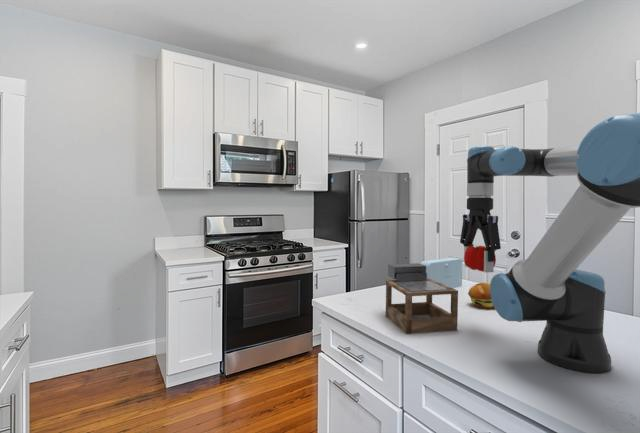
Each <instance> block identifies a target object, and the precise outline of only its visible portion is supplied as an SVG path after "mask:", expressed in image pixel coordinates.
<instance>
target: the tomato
mask: <svg viewBox="0 0 640 433" xmlns="http://www.w3.org/2000/svg"><path fill="white" fill-rule="evenodd" d="M484 249H486V246H485V245H484V246H483V245H474V246H469V247H468V248H467V249H466V252H465V254H463V255H464V256H463V260H464V266H465V265H466V266H467V267H466V268H469V269H470V270H472V271H478V272H483V273H484V251H485V250H484ZM496 256H497V255H495V260H494V267H495V265H496V261H497V258H496Z"/></svg>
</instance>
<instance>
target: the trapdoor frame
mask: <svg viewBox="0 0 640 433" xmlns="http://www.w3.org/2000/svg"><path fill="white" fill-rule="evenodd" d="M412 281H431V282H434V283H436V284H438V285H440V286H443V287H445V288H447V289H449V290H434V291H414V292H410V291H408V290H406V289H404V288H403V287H401V286H399V285H397V284H396V283H395V282H409V281H396V279H393V280H391V279H390V280H388V279H387V280H386V281H385V317H387V318H388V319H389V320H390V321H392V322H393V324H395V325H396V326H397V327H398V328H399V329H401V331H403V332H404V333H406V334H410V335H411V334H422V333H423V334H424V333H433V332H434V333H435V332H436V333H437V332H446V331H448V332H449V331H458V322H459V321H458V316H459V315H458V314H459V312H458V311H459V310H458V309H459V308H458V306H459V290H458V289H455V288H451V287H449V286H446V285H444V284H442V283H439V282H437V281H435V280H432V279H427V280H412ZM392 289H394V290H396V291H398V292H400V293H402V294H403V295H404V297H405V302H400V303H392V301H393V299H392V298H393V297H392V293H393V292H392V291H393V290H392ZM442 295H443V296H444V295H450V312H449V311H447V310H445V309H444V308H442V307H441V306H438V305H437V304H435V303H433V296H442ZM421 296H422V297H423V296H424V297H426V298H425V301H423V302H422V301H421V302H413V297H421ZM422 315H428V316H429V317H418V318H417V317H416V318H413V316H422Z"/></svg>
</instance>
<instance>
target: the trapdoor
mask: <svg viewBox="0 0 640 433" xmlns="http://www.w3.org/2000/svg"><path fill="white" fill-rule="evenodd" d="M387 265H388V266H387V269H388V270H387V276H388V277H390V278H391V279H393V280H396V281H409V282H395V283H396V284H397V285H399V286H401V287H403V288H404V289H406V290H408V291H410V292H414V291H434V290H449V289H447V288H445V287H443V286H440V285H438V284H436V283H434V282H431V281H412V280H427V273H426V266H425V265H422V264H421V263H419V262H418V263H417V262H416V263H413V262H412V263H388V264H387Z"/></svg>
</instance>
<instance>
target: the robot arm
mask: <svg viewBox="0 0 640 433" xmlns="http://www.w3.org/2000/svg"><path fill="white" fill-rule="evenodd" d="M466 163H467V165H466V167H467V171H466V172H467V173H466V174H467V175H466V177H467V178H466V180H467V181H466V182H467V183H466V196H467V197H468V198H466V210H469V213H468V214H465V213H464V214H462V226H461V233H460V239H459V242H460V244H462V245H463V246H464V250H463V252H464V254H465V252H466V249H467V248H468V247H469V246H474V247H475V244H474V240H475V237H476V235H477V232H478V230H479V231H480V233H481V235H482V238H483V243H484V246H485V247H486V249H484V250H485V251H484V271H483V273H494V268H495V266H494V260H495V256H496V253H495V252H496V251H498V250H501V248H502V247H501V240H500V233H499V232H500V231H499V226H498V223H499V216H498V215H492V214H491V211H492V210H493V209H494V198H493V196H494V181H495V177H499V176H500V177H501V176H504V177H505V176H507V177H508V176H510V177H518V176H519V177H522V176H523V177H527V176H528V177H552V178H553V177H559V176H561V177H563V176H576V178H577V181H578V183H579V186H578V188H577V189H576V190H575V192H574V193H573V195H572V196H571V197H570V199H568V202H567V203H566V204H565V206H564V207H562V208H563V209H561V211H560V213H559V214H558V215H557V217H556V218H555V220H554V221H553V222H552V224H551V225H550V227H549V228H548V229H547V230H546V232H545V233H544V235H543V236H542V237H541V239H540V241H539V242H538V243H537V245H536V246H535V248H533V250H532V251H531V253H530V254H529V256H528V258H526V259H521V260H518V261H516V262H515V263H514V265H513V266H512V267H511V269H510V270H509V271H508V272H507V273H503V272H500V273H496V274H495V275H493V276H492V278H491V280H490V283H489V284H490V294H491V300H492V303H493V305H494V308H493V309H495V311H496V313H497V314H498V316H500V318H502V319H504V320H505V321H508V322H518V323H522V322H543V321H546V323H545V327H544V329H543V332H542V334H541V337H540V339H539V340H538V343H537V353H538V355H539V356H540V357H542V358H543V359H544V360H545V361H548V362H549V363H552V364H554V365H556V366H559V367H561V368H565V369H568V370H572V371H577V372H583V373H589V374H590V373H591V374H592V373H593V374H597V373H598V374H602V373H607V372H608V371H611V369H612V357H611V355H610V353H609V349H608V346H607V344H606V340H605V337H604V320H605V319H604V318H605V303H606V302H605V301H606V299H605V298H606V293H607V292H606V289H605V280H604V278H603V276H601V275H600V274H597V273H594V272H592V271H591V272H590V271H585V270H580V269H578V268H579V266H581V264H582V263H583V262H584V261H585V260H586V259H587V258H588V256H589V255H590V254H591V253H592V252H593V251H594V250H595V249H596V248H597V246H598V245H599V244H600V243H601V242H602V241H603V240H604V238H606V236H607V235H608V234H609V233H610V232H611V231H612V230H613V228H614V227H615V226H616V225H617V224H618V223H620V221H621V220H622V219H623V217H624V216H625V215H626V214H627V213H628V212H629V211H630V210H631V209H636V208H640V112H637V113H636V112H634V113H628V114H620V115H618V114H617V115H614V116H612V117H609V118H606V119H604V120H602V121H600V122H598V123H597V124H596V125H595V126H593V127H592V128H590V130H589V131H588V132H587V133H586V134H585V136H584V137H583V138H582V140H581V141H580V144H578V145H569V146H560V147H552V148H544V149H543V148H541V149H540V148H539V149H535V148H534V149H529V148H519V147H517V146H513V145H512V146H503V147H499V148H496V149H495V148H494V147H493V146H491V145H482V146H481V145H479V146H472V147H470V148H469V149H468V152H467V159H466ZM464 254H463V255H464ZM464 267H466V268H468V267H467V266H466V265H465V264H464Z"/></svg>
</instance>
